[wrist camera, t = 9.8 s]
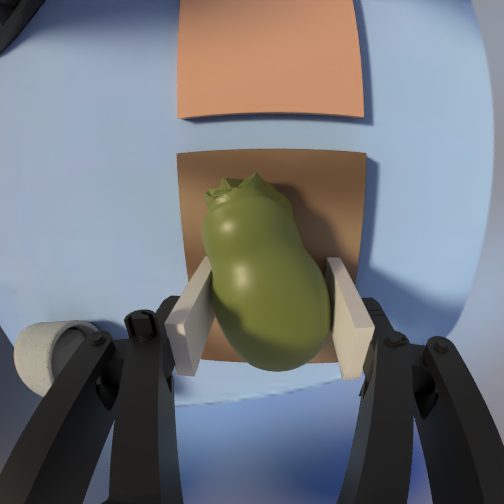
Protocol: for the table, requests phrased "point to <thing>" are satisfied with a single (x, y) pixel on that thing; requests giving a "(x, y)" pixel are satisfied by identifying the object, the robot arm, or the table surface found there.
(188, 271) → the walnut board
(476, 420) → the robot arm
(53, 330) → the ceramic mug
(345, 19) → the terracotta tile
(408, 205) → the table surface
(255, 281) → the green oblong lump
